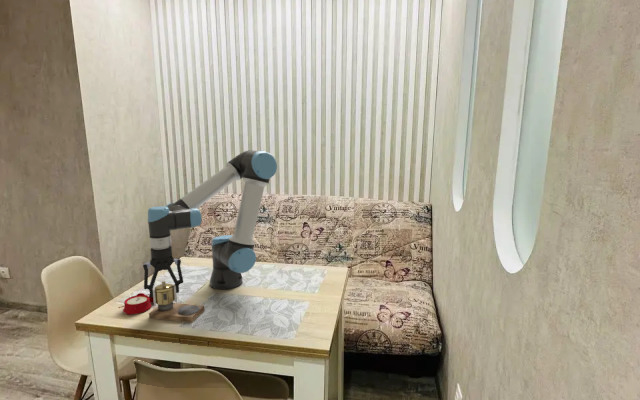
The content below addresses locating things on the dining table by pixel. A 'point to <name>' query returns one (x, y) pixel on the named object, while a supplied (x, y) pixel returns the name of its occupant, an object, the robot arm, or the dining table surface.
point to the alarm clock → (138, 304)
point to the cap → (164, 293)
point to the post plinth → (177, 312)
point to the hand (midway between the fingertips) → (165, 302)
